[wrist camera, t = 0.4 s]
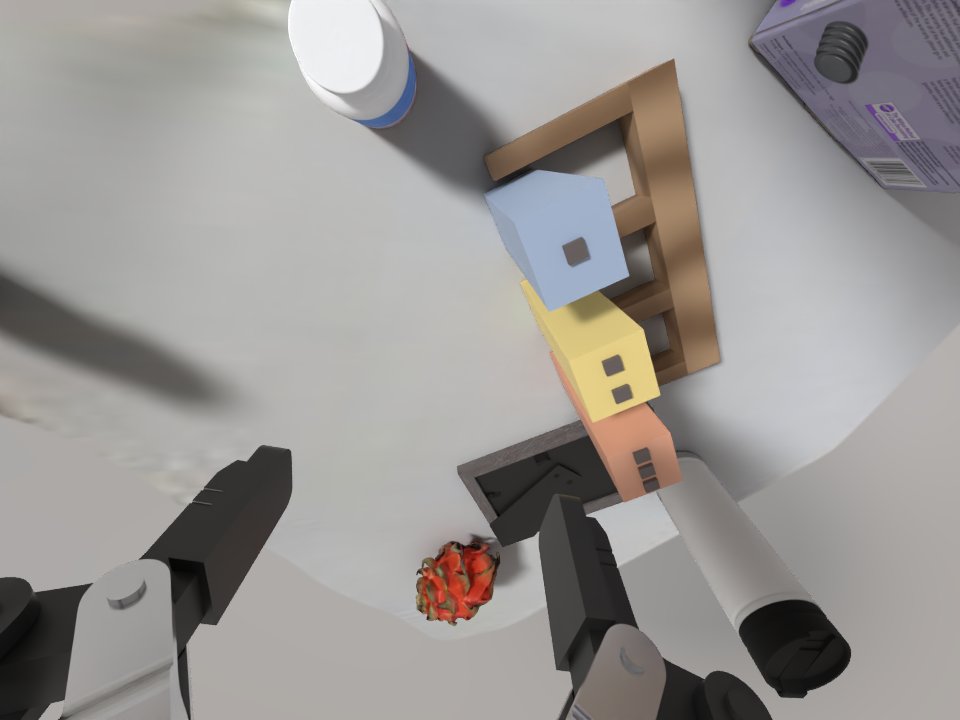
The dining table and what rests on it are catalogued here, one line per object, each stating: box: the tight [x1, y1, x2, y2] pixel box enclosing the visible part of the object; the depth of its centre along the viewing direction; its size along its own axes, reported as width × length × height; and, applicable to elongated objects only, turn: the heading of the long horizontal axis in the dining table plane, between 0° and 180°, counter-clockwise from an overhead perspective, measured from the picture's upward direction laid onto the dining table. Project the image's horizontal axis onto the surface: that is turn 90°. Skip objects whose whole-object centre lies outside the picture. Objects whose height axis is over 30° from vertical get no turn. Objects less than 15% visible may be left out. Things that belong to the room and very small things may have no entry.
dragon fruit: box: [416, 542, 500, 626], centre depth 45 cm, size 8×8×12 cm
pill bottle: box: [288, 0, 417, 129], centre depth 20 cm, size 6×5×10 cm
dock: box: [483, 59, 720, 387], centre depth 31 cm, size 24×13×2 cm, turn 25°
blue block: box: [484, 169, 629, 312], centre depth 23 cm, size 4×4×14 cm
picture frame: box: [457, 420, 623, 547], centre depth 43 cm, size 13×2×18 cm
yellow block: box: [520, 279, 660, 423], centre depth 26 cm, size 4×4×14 cm
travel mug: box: [656, 452, 851, 698], centre depth 35 cm, size 6×7×20 cm
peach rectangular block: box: [550, 351, 683, 502], centre depth 30 cm, size 4×4×14 cm
